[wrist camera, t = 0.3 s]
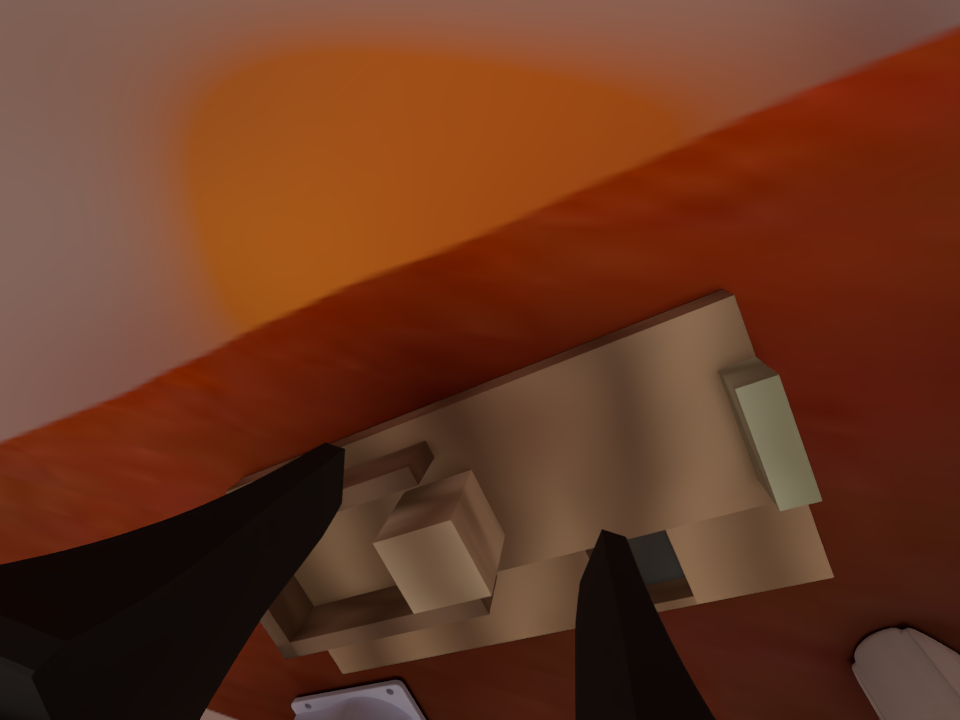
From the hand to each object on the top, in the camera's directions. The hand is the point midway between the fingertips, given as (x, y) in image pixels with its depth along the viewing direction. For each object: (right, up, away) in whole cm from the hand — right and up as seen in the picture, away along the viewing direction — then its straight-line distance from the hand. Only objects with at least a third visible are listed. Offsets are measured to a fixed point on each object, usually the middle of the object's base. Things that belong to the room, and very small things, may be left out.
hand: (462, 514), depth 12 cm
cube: (-1, -4, +11) cm, 12 cm away
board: (+2, -4, +12) cm, 13 cm away
